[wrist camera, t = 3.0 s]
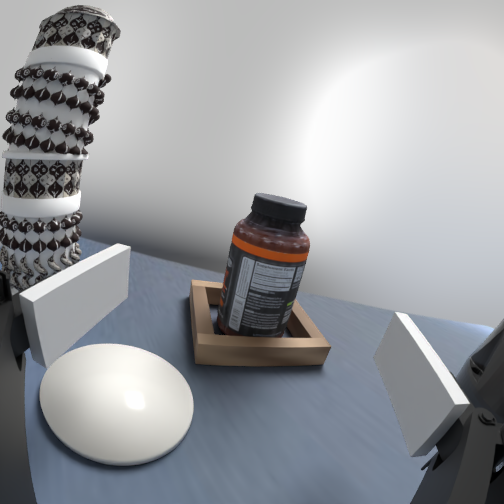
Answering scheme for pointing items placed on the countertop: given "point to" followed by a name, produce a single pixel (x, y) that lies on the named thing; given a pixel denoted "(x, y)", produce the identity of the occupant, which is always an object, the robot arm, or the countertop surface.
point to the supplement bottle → (264, 268)
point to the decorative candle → (52, 143)
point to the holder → (252, 348)
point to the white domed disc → (116, 404)
